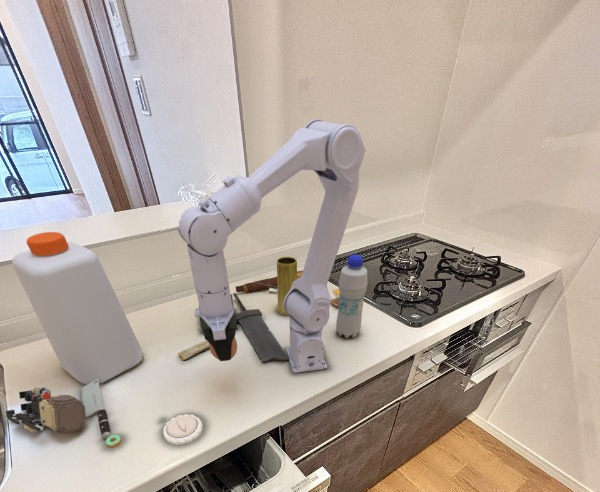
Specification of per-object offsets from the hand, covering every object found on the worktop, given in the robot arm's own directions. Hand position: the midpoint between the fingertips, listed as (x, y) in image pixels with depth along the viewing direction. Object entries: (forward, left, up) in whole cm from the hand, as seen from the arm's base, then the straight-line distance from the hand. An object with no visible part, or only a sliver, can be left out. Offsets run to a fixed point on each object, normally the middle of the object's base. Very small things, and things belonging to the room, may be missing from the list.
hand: (224, 350), depth 70 cm
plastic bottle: (+14, +28, -9) cm, 33 cm away
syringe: (+40, -14, -7) cm, 43 cm away
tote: (+27, +1, -9) cm, 29 cm away
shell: (+28, -31, -8) cm, 42 cm away
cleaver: (-4, +29, -9) cm, 31 cm away
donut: (-10, +19, -9) cm, 23 cm away
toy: (+1, +40, -7) cm, 41 cm away
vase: (+29, -18, -9) cm, 36 cm away
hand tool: (+44, -30, -6) cm, 53 cm away
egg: (0, 0, -2) cm, 2 cm away
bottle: (+14, -31, -9) cm, 35 cm away
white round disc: (-12, +10, -9) cm, 18 cm away
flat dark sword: (+22, -7, -9) cm, 25 cm away
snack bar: (+14, +7, -9) cm, 18 cm away
